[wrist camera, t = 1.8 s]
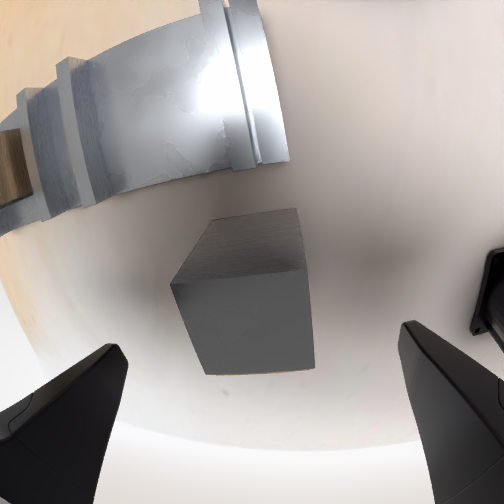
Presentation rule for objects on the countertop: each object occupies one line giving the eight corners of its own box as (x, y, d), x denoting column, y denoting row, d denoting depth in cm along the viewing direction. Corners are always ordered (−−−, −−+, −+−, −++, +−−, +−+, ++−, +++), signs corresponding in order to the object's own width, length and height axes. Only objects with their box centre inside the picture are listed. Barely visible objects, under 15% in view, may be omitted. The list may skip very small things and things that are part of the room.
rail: (287, 154, 12) (290, 162, 9) (10, 228, 15) (-16, 244, 12) (258, 14, 9) (252, -14, 6) (-10, 142, 12) (-39, 151, 10)
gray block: (295, 207, 13) (307, 268, 8) (306, 290, 15) (315, 377, 9) (212, 220, 14) (169, 284, 8) (232, 298, 15) (209, 382, 10)
